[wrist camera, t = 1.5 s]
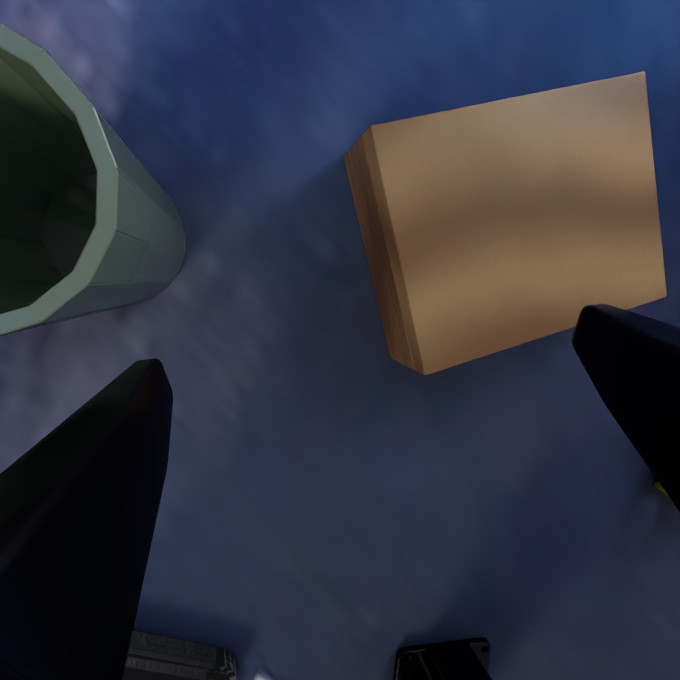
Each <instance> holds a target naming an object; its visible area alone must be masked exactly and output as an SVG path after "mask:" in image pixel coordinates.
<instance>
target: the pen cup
mask: <svg viewBox="0 0 680 680" xmlns="http://www.w3.org/2000/svg"><path fill="white" fill-rule="evenodd" d="M185 253H186V233H185V228H184V224H183V221H182V218H181V216H180V214H179V212H178V210H177V208H176V205H175V204H174V202H173V201H172V200H171V199H170V197H169V196H168V195H167V194H166V193H165V191H164V190H163V189H162V188H161V187H160V185H159V184H158V183H157V182H156V180H155V179H154V178H153V177H152V176H151V174H150V173H149V172H148V171H147V170H146V168H145V167H144V166H143V165H142V163H141V162H140V161H139V160H138V159H137V157H136V156H135V155H134V154H133V153H132V151H131V150H130V149H129V148H128V146H127V145H126V144H125V143H124V142H123V140H122V139H121V138H120V137H119V136H118V134H117V133H116V132H115V131H114V129H113V128H112V127H111V126H110V125H109V123H108V122H107V121H106V120H105V119H104V117H103V116H102V115H101V114H100V112H99V111H98V110H97V109H96V108H95V106H94V105H93V104H92V103H91V102H90V100H89V99H88V98H87V97H86V96H85V95H84V94H83V92H82V91H81V90H80V89H79V88H78V87H77V86H76V84H75V83H74V82H73V81H72V80H71V79H70V77H69V76H68V75H67V74H66V73H65V72H64V71H63V69H62V68H61V67H60V66H59V65H58V64H57V62H56V61H55V60H54V59H53V58H52V57H51V56H50V54H49V53H48V52H47V51H45V50H44V49H43V48H42V47H41V46H39V45H37V44H35V43H34V42H32V41H30V40H29V39H27V38H25V37H24V36H22V35H20V34H19V33H17V32H15V31H14V30H12V29H10V28H8V27H7V26H5V25H3V24H2V23H0V336H3V335H8V334H12V333H16V332H20V331H24V330H28V329H33V328H37V327H41V326H45V325H49V324H54V323H58V322H62V321H66V320H70V319H74V318H79V317H83V316H87V315H91V314H95V313H100V312H104V311H108V310H112V309H116V308H120V307H125V306H128V305H131V304H135V303H138V302H142V301H145V300H148V299H151V298H152V297H154V296H156V295H157V294H159V293H160V292H162V291H163V290H164V289H166V288H167V287H168V286H169V285H170V284H171V283H172V281H173V280H174V279H175V278H176V276H177V274H178V273H179V271H180V269H181V266H182V264H183V261H184V257H185Z"/></svg>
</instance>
